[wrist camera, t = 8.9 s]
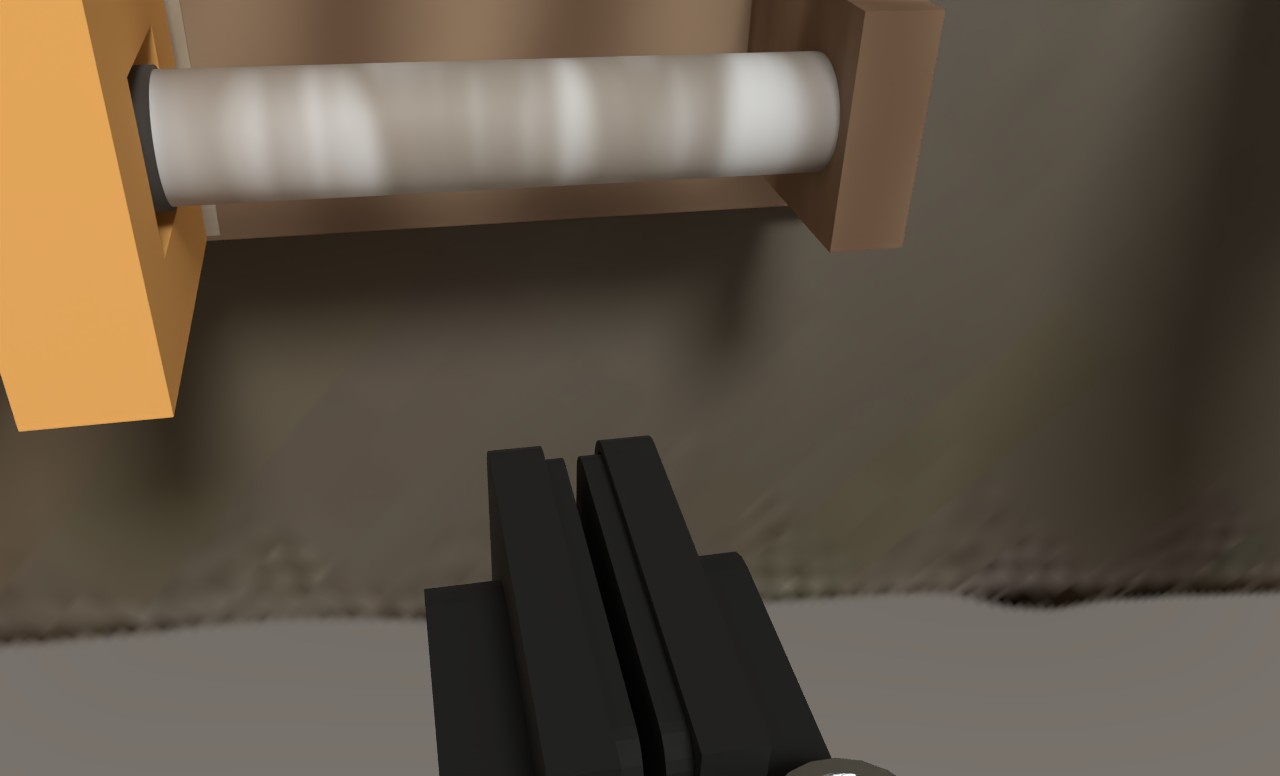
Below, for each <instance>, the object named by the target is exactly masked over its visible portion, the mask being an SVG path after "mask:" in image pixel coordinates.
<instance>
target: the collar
mask: <svg viewBox="0 0 1280 776" xmlns="http://www.w3.org/2000/svg"><path fill="white" fill-rule="evenodd" d="M151 64H154V65H156V66H157V68H158V69H176V66H175V61H174V56H173V50H172V45H171V39H170V34H169V28H168V23H167V17H166V12H165V6H164V1H163V0H0V373H1V377H2V380H3V383H4V386H5V389H6V393H7V396H8V399H9V402H10V405H11V409H12V412H13V415H14V418H15V421H16V425H17V428H18V431H30V430H41V429H51V428H62V427H73V426H83V425H94V424H105V423H115V422H126V421H137V420H147V419H158V418H169V417H174V413H175V407H176V402H177V397H178V391H179V386H180V381H181V375H182V370H183V365H184V359H185V354H186V349H187V343H188V338H189V333H190V327H191V322H192V317H193V311H194V306H195V301H196V295H197V290H198V285H199V279H200V274H201V269H202V263H203V258H204V253H205V247H206V242H207V237H206V231H205V226H204V220H203V215H202V209H201V205H196V206H178V207H177V208H176V210H175V211H168V212H155V211H154V206H153V201H152V196H151V191H150V186H149V182H148V177H147V172H146V167H145V162H144V157H143V152H142V148H141V143H140V138H139V133H138V128H137V123H136V119H135V114H134V109H133V104H132V99H131V94H130V90H129V85H128V80H127V76H128V74H129V71H130V69H131V67H132V65H151Z"/></svg>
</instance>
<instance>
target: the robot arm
mask: <svg viewBox="0 0 1280 776" xmlns="http://www.w3.org/2000/svg"><path fill="white" fill-rule="evenodd" d="M487 473H488V495H489V517H490V539H491V561H492V581H489V582H481V583H472V584H464V585H456V586H448V587H439V588H431V589H424V594H425V607H426V619H427V631H428V642H429V654H430V667H431V679H432V690H433V703H434V715H435V727H436V739H437V752H438V764H439V775H440V776H896V775H894V774H893V773H891V772H890V771H888V770H886V769H883V768H880V767H877V766H875V765H872V764H869V763H867V762H864V761H860V760H850V759H841V758H831V756H830V754H829V751H828V749H827V747H826V745H825V743H824V740H823V738H822V736H821V733H820V731H819V729H818V727H817V724H816V722H815V720H814V717H813V715H812V713H811V710H810V708H809V706H808V704H807V701H806V699H805V697H804V695H803V692H802V690H801V688H800V685H799V683H798V681H797V679H796V676H795V674H794V672H793V670H792V667H791V665H790V663H789V661H788V658H787V656H786V654H785V651H784V649H783V647H782V645H781V642H780V640H779V638H778V636H777V633H776V631H775V629H774V626H773V624H772V622H771V620H770V617H769V615H768V613H767V611H766V608H765V606H764V604H763V601H762V599H761V597H760V595H759V592H758V590H757V588H756V586H755V583H754V581H753V579H752V576H751V574H750V572H749V570H748V567H747V566H746V564H745V562H744V560H743V558H742V557H741V556H740V555H739V554H738V553H737V552H729V553H721V554H713V555H705V556H698V554H697V551H696V549H695V546H694V543H693V541H692V538H691V536H690V533H689V531H688V528H687V526H686V523H685V520H684V518H683V515H682V513H681V510H680V508H679V505H678V503H677V500H676V497H675V495H674V492H673V490H672V487H671V485H670V482H669V480H668V477H667V474H666V472H665V469H664V467H663V464H662V462H661V459H660V457H659V454H658V451H657V449H656V446H655V444H654V442H653V440H652V438H651V437H650V436H638V437H628V438H618V439H607V440H598V441H597V442H596V446H595V455H587V456H579V457H578V460H577V497H576V502H575V498H574V495H573V491H572V487H571V484H570V480H569V476H568V473H567V469H566V465H565V462H564V459H563V458H557V459H547V460H545V457H544V453H543V450H542V448H541V446H535V447H525V448H515V449H504V450H494V451H488V452H487Z"/></svg>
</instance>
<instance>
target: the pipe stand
mask: <svg viewBox="0 0 1280 776" xmlns="http://www.w3.org/2000/svg"><path fill="white" fill-rule="evenodd" d="M163 1H164V6H165V12H166V17H167V23H168V28H169V34H170V39H171V45H172V50H173V56H174V61H175V66H176V69H158V68H157V66H156V65H154V64H151V65H132V67H131V69H130V71H129V74H128V76H127V80H128V85H129V90H130V94H131V99H132V104H133V109H134V114H135V119H136V123H137V128H138V133H139V138H140V143H141V148H142V152H143V157H144V162H145V167H146V172H147V177H148V182H149V186H150V191H151V196H152V201H153V206H154V211H155V212H168V211H175V210H176V208H177V207H178V206H196V205H201V209H202V215H203V220H204V226H205V231H206V237H207V241H215V240H231V239H248V238H264V237H281V236H297V235H314V234H330V233H347V232H363V231H380V230H396V229H412V228H429V227H445V226H462V225H478V224H495V223H511V222H528V221H544V220H561V219H577V218H594V217H610V216H626V215H643V214H659V213H676V212H692V211H709V210H725V209H742V208H758V207H775V206H789V207H790V208H791V209H792V210H793V211H794V213H795V214H796V215H797V216H798V217H799V218H800V219H801V221H802V222H803V223H804V224H805V225H806V226H807V227H808V228H809V230H810V231H811V232H812V233H813V234H814V235H815V236H816V237H817V239H818V240H819V241H820V242H821V243H822V244H823V245H824V246H825V248H826V249H827V250H828V251H829V252H830V253H833V252H847V251H861V250H875V249H889V248H902V244H903V239H904V233H905V228H906V223H907V217H908V212H909V206H910V201H911V195H912V190H913V185H914V179H915V174H916V168H917V163H918V158H919V152H920V147H921V141H922V136H923V130H924V125H925V120H926V114H927V109H928V103H929V98H930V93H931V87H932V82H933V76H934V71H935V65H936V60H937V55H938V49H939V44H940V38H941V33H942V28H943V22H944V17H945V11H946V10H945V9H943V8H941V7H939V6H938V5H936V4H934V3H932V2H930V1H928V0H163Z"/></svg>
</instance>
